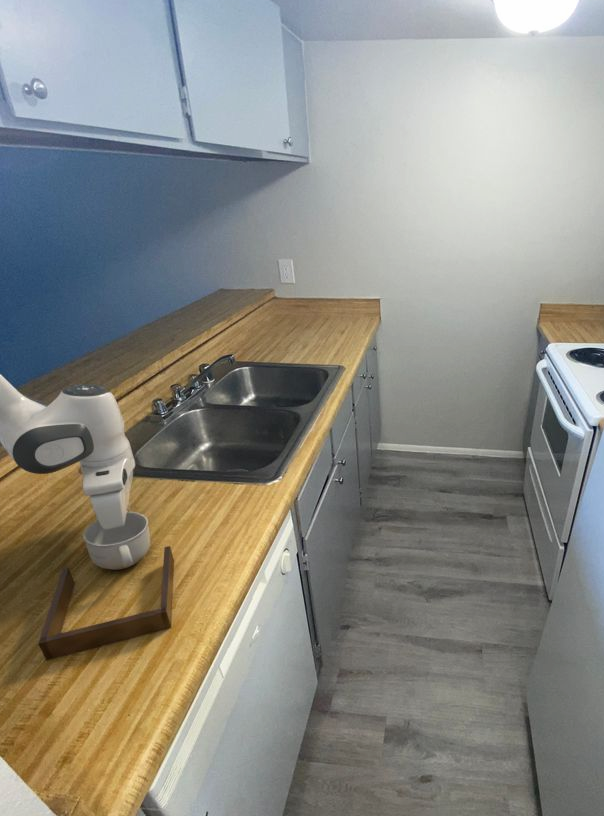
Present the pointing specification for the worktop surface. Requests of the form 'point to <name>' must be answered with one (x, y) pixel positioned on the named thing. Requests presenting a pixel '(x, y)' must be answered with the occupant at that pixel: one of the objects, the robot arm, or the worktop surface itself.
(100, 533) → the teacup
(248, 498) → the worktop surface
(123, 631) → the dish corral
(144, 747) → the worktop surface
